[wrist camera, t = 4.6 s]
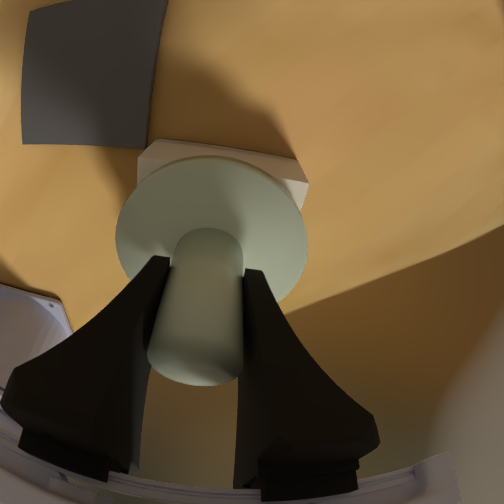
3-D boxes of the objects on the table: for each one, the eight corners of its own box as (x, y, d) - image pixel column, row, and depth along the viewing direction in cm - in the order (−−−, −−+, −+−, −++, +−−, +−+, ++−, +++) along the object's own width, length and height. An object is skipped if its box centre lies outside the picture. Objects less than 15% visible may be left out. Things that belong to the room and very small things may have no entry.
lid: (133, 300, 15) (103, 397, 10) (114, 150, 10) (26, 237, 5) (284, 314, 15) (296, 416, 11) (325, 169, 11) (383, 270, 6)
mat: (26, 142, 12) (22, 144, 12) (34, 11, 8) (29, 11, 7) (146, 146, 13) (144, 149, 13) (169, -8, 9) (167, -9, 9)
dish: (152, 252, 17) (139, 286, 15) (157, 138, 13) (137, 157, 11) (266, 268, 18) (270, 304, 16) (297, 160, 14) (309, 183, 12)
